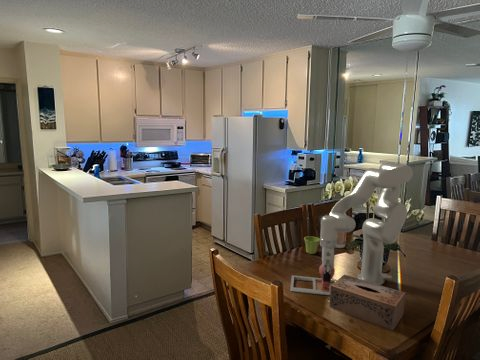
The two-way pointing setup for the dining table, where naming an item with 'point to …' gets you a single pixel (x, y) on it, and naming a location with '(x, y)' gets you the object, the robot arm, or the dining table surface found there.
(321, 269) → the light bulb
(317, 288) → the rail frame
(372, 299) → the tissue box cover
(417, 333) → the dining table surface
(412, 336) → the dining table surface
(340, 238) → the fruit juice
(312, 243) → the plant pot
